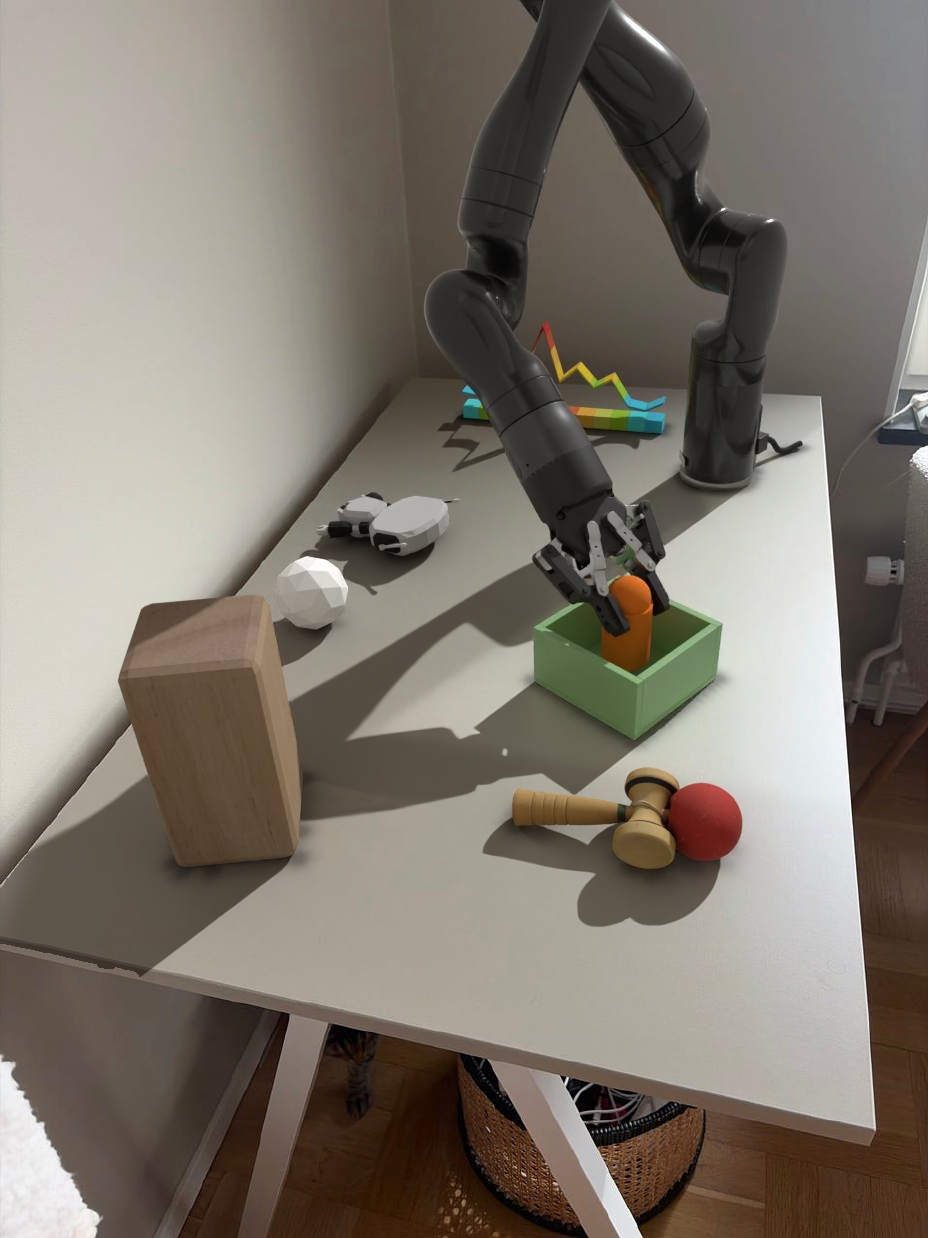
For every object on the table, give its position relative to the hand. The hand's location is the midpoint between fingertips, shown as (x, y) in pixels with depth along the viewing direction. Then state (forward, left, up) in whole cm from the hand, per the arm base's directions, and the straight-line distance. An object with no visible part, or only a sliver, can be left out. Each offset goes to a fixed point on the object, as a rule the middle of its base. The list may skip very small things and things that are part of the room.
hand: (642, 622), depth 90 cm
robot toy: (-2, -41, -8) cm, 42 cm away
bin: (0, -2, -8) cm, 8 cm away
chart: (-42, -49, -8) cm, 65 cm away
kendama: (+16, +11, -8) cm, 21 cm away
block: (+37, -13, -8) cm, 40 cm away
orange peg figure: (0, -2, -5) cm, 5 cm away
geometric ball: (+15, -33, -8) cm, 37 cm away
